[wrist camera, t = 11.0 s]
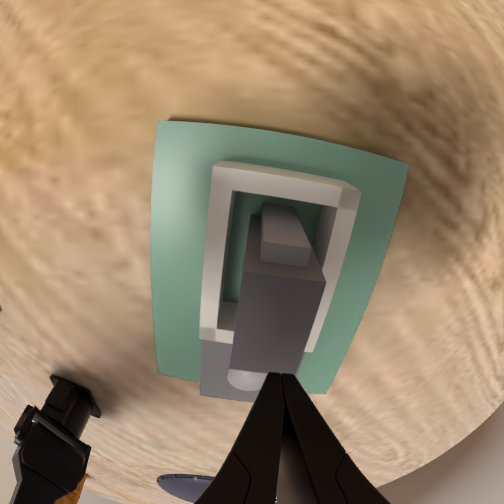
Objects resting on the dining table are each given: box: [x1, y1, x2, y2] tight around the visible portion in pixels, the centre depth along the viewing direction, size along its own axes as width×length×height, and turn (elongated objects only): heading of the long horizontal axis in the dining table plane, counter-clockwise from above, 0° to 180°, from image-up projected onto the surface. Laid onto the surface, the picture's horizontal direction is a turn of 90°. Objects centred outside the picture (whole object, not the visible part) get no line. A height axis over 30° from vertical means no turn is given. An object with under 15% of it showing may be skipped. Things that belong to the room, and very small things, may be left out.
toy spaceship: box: [157, 474, 278, 504], centre depth 39 cm, size 28×24×3 cm
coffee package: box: [55, 474, 87, 504], centre depth 38 cm, size 10×12×22 cm
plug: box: [229, 203, 326, 375], centre depth 14 cm, size 7×3×7 cm, turn 172°
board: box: [151, 120, 409, 402], centre depth 18 cm, size 20×15×4 cm
